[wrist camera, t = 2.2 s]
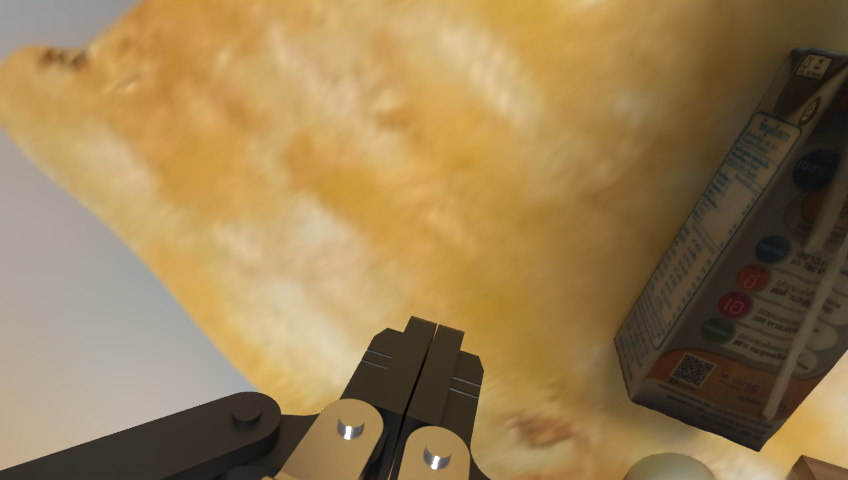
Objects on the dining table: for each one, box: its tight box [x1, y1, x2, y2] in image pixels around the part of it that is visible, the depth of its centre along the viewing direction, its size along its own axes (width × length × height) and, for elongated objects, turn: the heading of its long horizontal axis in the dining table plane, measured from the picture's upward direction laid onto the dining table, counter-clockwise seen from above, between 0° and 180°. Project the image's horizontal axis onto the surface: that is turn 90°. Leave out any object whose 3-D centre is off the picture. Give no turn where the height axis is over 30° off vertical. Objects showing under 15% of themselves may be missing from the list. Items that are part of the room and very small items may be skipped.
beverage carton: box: [614, 47, 848, 452], centre depth 26 cm, size 8×19×7 cm, turn 162°
